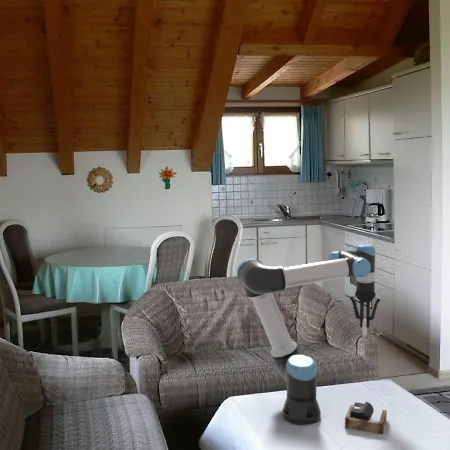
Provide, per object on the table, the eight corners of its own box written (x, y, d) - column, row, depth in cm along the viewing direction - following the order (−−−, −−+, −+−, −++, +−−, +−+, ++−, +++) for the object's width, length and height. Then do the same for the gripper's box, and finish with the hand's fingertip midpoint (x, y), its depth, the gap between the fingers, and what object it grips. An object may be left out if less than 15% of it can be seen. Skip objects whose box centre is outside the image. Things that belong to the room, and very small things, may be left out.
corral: (344, 428, 219) (345, 418, 219) (350, 414, 230) (350, 405, 230) (382, 434, 214) (382, 424, 214) (386, 420, 225) (386, 410, 225)
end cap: (368, 430, 217) (368, 413, 217) (349, 426, 221) (349, 410, 220) (373, 419, 226) (373, 402, 226) (355, 415, 229) (355, 399, 229)
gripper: (382, 280, 244) (381, 333, 247) (351, 278, 249) (350, 330, 252) (380, 284, 237) (379, 339, 240) (348, 281, 242) (347, 335, 245)
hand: (364, 334), depth 246 cm, fingers closed
